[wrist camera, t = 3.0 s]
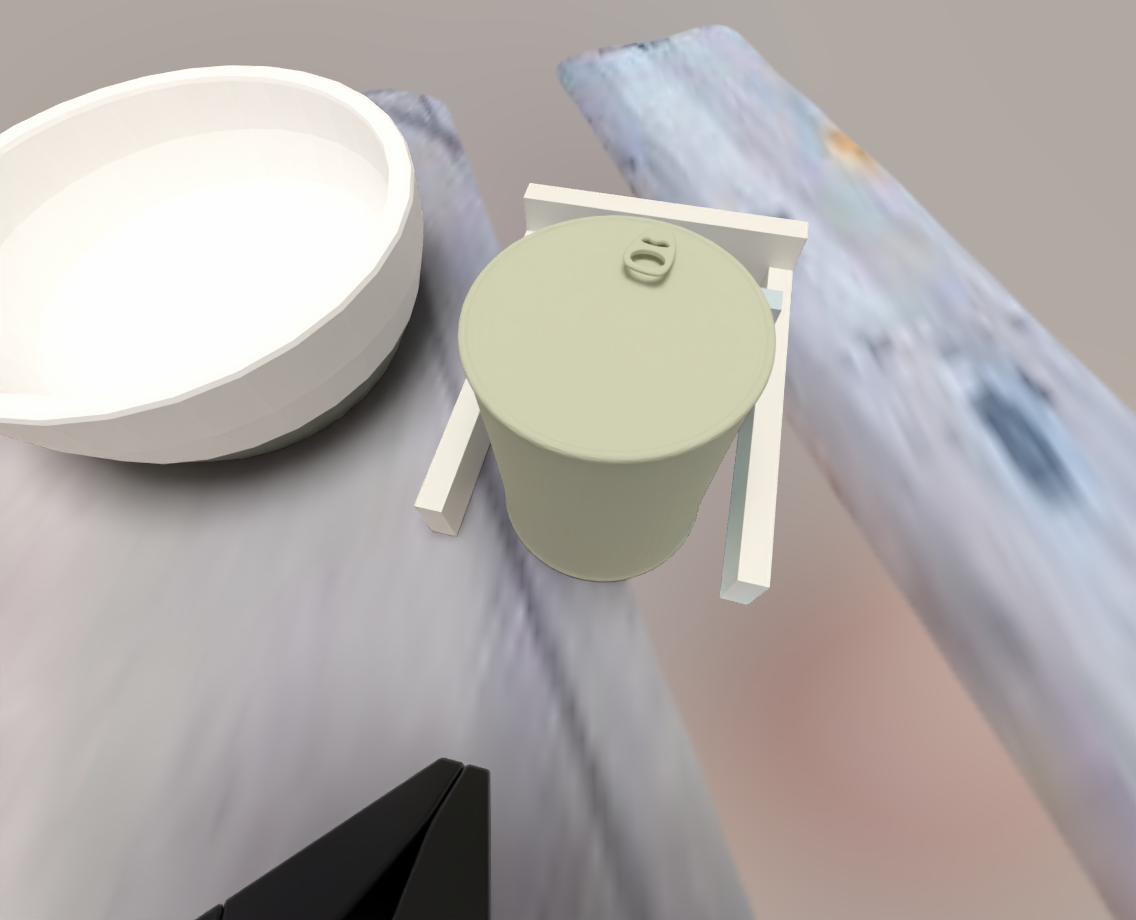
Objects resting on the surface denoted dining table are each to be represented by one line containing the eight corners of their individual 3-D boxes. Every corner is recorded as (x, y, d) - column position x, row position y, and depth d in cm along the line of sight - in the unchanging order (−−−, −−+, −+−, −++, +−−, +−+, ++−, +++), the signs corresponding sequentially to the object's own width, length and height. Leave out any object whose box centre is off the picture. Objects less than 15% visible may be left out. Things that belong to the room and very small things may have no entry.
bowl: (533, 325, 30) (518, 192, 23) (162, 613, 23) (-34, 555, 16) (316, 159, 38) (252, 19, 30) (-13, 337, 31) (-202, 210, 23)
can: (722, 442, 26) (817, 244, 16) (661, 616, 23) (733, 509, 12) (553, 384, 28) (537, 171, 18) (471, 535, 24) (386, 380, 14)
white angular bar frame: (747, 604, 23) (787, 573, 18) (432, 530, 25) (399, 485, 20) (775, 296, 31) (808, 222, 26) (536, 258, 33) (529, 183, 28)
